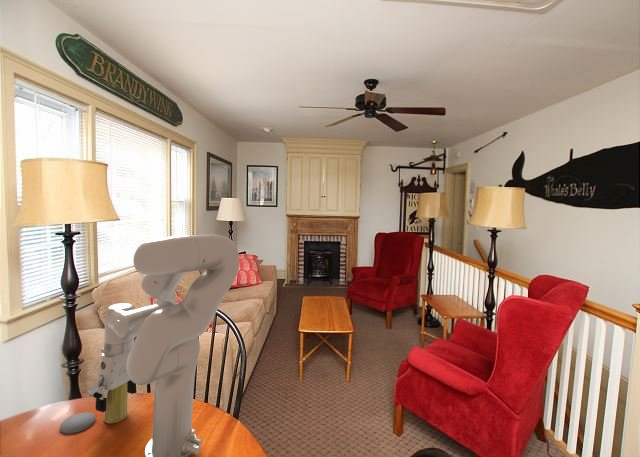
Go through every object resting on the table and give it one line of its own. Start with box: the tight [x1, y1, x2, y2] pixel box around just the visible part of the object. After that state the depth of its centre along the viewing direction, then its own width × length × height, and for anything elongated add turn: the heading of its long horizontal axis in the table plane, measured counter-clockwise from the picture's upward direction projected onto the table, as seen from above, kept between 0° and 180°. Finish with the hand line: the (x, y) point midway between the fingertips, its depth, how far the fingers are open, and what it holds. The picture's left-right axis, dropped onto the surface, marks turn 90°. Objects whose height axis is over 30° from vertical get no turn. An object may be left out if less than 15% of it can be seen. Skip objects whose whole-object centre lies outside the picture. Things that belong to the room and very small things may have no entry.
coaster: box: [59, 411, 96, 435], centre depth 89 cm, size 8×8×1 cm
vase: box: [103, 382, 129, 424], centre depth 92 cm, size 6×6×14 cm
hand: (116, 401), depth 92 cm, fingers open, 9 cm apart
